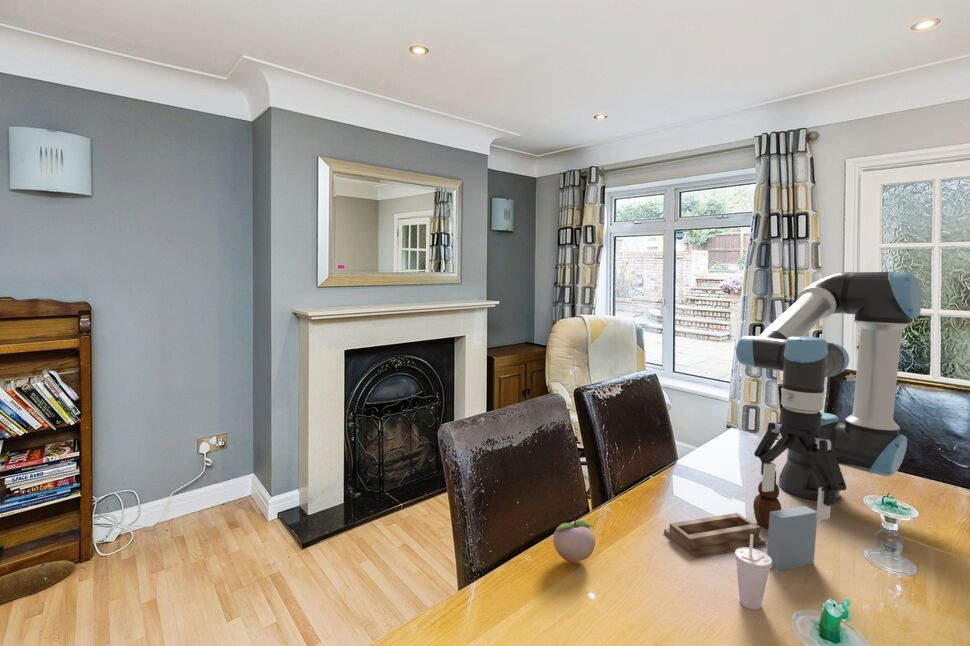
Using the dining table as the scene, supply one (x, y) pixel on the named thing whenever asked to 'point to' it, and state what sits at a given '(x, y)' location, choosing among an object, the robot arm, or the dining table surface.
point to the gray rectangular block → (792, 537)
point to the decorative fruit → (574, 540)
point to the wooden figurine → (766, 504)
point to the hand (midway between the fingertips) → (793, 504)
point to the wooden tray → (714, 534)
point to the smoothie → (752, 575)
